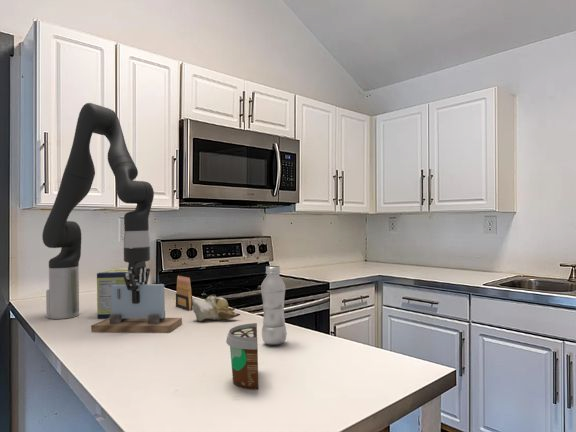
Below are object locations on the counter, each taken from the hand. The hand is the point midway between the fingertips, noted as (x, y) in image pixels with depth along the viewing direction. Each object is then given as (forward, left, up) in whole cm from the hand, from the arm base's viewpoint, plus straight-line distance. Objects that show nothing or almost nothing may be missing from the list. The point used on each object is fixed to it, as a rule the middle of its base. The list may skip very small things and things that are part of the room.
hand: (137, 302), depth 127 cm
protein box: (-16, +20, -8) cm, 27 cm away
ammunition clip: (+4, +29, -8) cm, 30 cm away
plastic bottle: (+44, -15, -8) cm, 47 cm away
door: (0, 0, -5) cm, 5 cm away
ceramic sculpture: (+21, +12, -8) cm, 25 cm away
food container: (+41, -40, -8) cm, 58 cm away
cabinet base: (0, 0, -8) cm, 8 cm away
